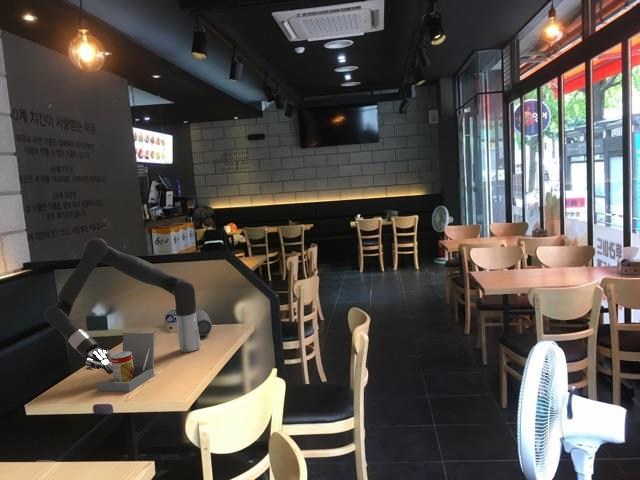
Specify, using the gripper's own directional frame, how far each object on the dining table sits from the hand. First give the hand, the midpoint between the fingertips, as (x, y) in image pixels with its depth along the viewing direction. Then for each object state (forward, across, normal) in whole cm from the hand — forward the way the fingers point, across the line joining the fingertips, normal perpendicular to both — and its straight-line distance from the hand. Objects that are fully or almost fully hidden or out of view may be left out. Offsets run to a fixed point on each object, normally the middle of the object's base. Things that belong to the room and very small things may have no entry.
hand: (112, 372), depth 213 cm
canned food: (+7, 0, 0) cm, 7 cm away
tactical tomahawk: (-10, +22, +18) cm, 30 cm away
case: (+7, +2, -1) cm, 8 cm away
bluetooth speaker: (+6, +66, +1) cm, 66 cm away
